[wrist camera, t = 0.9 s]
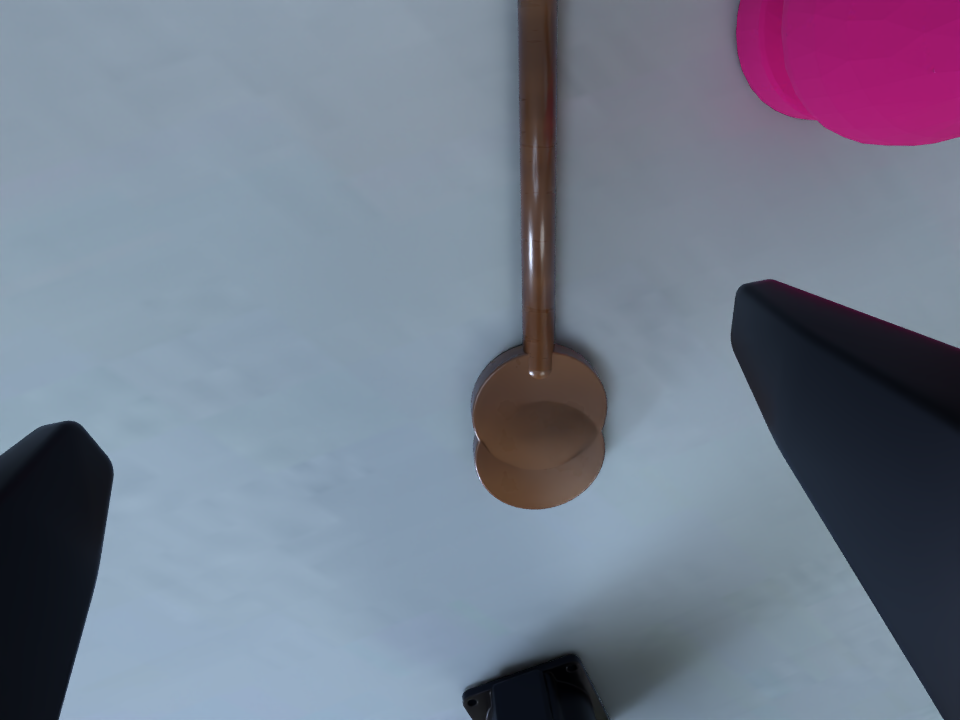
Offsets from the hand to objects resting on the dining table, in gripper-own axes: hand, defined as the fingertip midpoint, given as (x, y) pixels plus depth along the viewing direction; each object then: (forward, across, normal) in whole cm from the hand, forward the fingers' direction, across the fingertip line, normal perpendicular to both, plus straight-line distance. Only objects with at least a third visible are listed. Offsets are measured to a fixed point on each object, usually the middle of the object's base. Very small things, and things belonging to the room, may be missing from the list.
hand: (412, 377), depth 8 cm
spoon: (+13, -4, +6) cm, 15 cm away
